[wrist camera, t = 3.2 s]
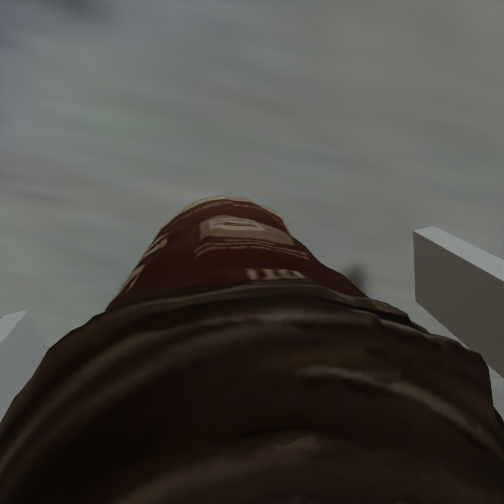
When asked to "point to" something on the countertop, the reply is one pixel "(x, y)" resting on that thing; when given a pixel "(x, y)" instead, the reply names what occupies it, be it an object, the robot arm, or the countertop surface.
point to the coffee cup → (250, 387)
